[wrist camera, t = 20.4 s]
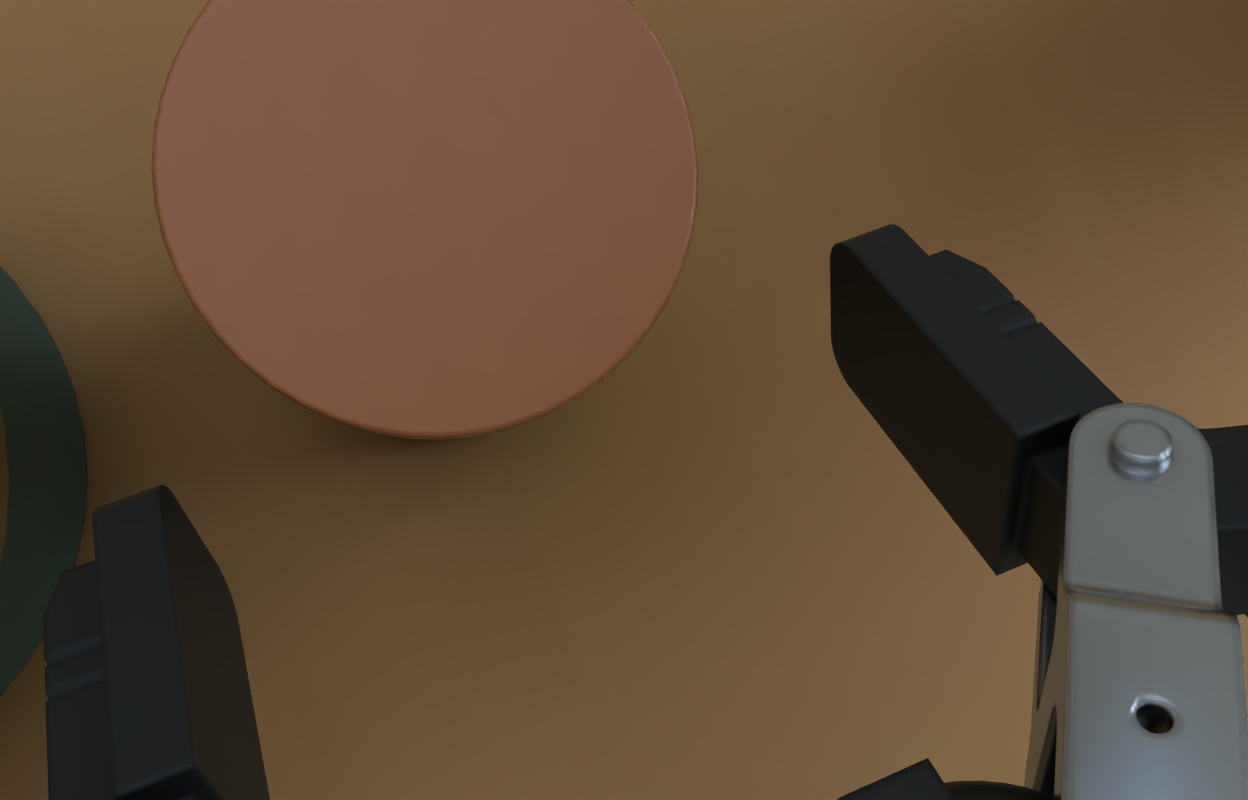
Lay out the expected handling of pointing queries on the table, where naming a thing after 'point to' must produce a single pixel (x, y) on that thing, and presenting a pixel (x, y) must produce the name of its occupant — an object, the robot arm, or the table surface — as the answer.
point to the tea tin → (426, 200)
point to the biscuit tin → (34, 477)
